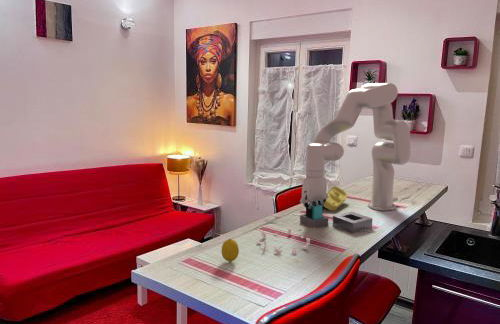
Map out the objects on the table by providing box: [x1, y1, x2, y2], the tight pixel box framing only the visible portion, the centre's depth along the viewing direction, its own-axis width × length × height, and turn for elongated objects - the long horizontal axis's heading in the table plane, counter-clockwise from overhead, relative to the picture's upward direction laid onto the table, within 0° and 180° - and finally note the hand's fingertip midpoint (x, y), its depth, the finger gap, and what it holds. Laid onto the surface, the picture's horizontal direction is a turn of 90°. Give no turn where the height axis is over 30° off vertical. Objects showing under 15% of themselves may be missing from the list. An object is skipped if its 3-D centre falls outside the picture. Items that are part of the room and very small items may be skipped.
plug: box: [306, 201, 323, 220], centre depth 155 cm, size 4×6×10 cm
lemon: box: [221, 238, 240, 263], centre depth 119 cm, size 6×6×8 cm
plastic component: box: [317, 185, 348, 212], centre depth 183 cm, size 20×8×10 cm
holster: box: [299, 213, 329, 229], centre depth 156 cm, size 8×9×3 cm
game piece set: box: [256, 227, 311, 255], centre depth 134 cm, size 19×20×4 cm
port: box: [332, 211, 373, 234], centre depth 152 cm, size 11×11×4 cm
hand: (314, 215), depth 156 cm, fingers open, 5 cm apart
